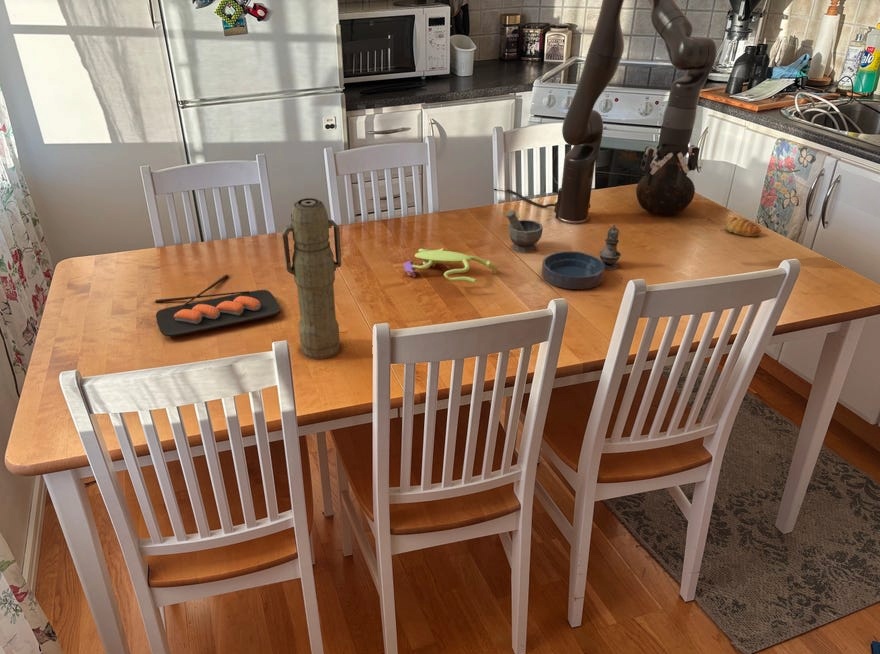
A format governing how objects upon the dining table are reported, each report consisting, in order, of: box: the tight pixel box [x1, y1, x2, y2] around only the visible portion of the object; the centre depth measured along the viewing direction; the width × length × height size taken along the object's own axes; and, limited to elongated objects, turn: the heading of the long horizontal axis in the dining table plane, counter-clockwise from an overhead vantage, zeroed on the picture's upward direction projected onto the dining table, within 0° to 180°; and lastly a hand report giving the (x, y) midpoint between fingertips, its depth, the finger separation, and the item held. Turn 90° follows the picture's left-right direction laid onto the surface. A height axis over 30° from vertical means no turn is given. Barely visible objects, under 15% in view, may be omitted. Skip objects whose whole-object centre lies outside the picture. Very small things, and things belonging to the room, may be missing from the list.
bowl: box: [541, 251, 606, 290], centre depth 195 cm, size 16×16×4 cm
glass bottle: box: [635, 164, 696, 216], centre depth 229 cm, size 18×18×28 cm
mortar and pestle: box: [505, 209, 544, 253], centre depth 209 cm, size 11×9×12 cm
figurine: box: [402, 247, 499, 285], centre depth 197 cm, size 18×27×6 cm
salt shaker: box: [598, 224, 622, 271], centre depth 199 cm, size 6×6×12 cm
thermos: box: [281, 197, 342, 360], centre depth 157 cm, size 9×12×35 cm
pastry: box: [725, 216, 762, 237], centre depth 219 cm, size 9×7×4 cm
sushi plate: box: [155, 274, 281, 337], centre depth 184 cm, size 29×30×4 cm
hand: (663, 186), depth 191 cm, fingers open, 8 cm apart
